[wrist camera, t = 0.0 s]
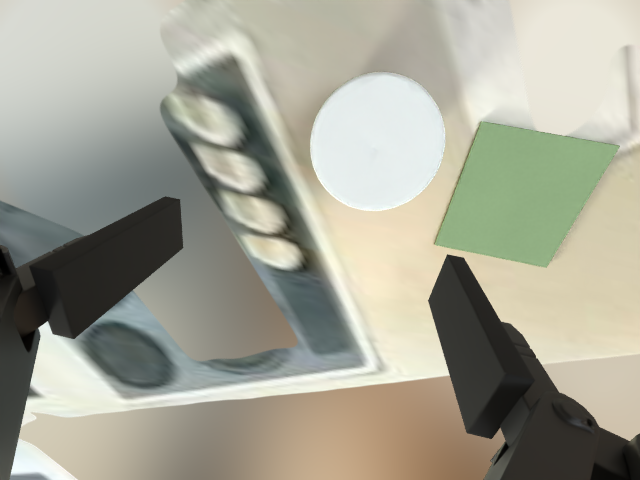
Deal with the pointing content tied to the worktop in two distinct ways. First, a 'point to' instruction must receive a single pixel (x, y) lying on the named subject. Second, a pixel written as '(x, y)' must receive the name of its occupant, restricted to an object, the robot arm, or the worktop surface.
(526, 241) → the mat
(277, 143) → the worktop surface
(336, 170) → the supplement tub
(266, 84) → the worktop surface
